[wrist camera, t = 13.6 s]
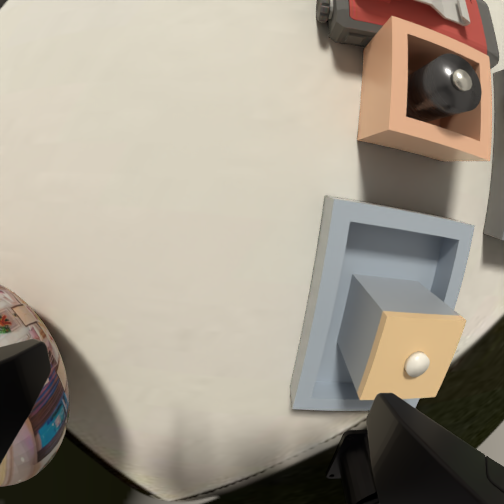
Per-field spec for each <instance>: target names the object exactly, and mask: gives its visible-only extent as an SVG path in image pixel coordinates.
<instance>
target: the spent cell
mask: <svg viewBox="0 0 504 504" xmlns="http://www.w3.org/2000/svg"><path fill="white" fill-rule="evenodd" d="M481 95H482V91H481V84H480V81H479V78H478V76H477V74H476V72H475V70H474V69H473V67H472V66H471V65H470V64H469V63H468V62H467V61H466V60H465V59H463V58H462V57H460V56H458V55H455V54H451V53H447V54H443V55H441V56H439V57H437V58H436V59H434V60H433V61H431V62H429V63H428V64H426V65H424V66H423V67H421V68H420V69H418V70H416V71H415V72H413V73H412V74H410V75H409V76H408V84H407V108H406V117H409V118H412V119H416V120H419V121H423V122H429V121H433V120H436V119H440V118H444V117H448V116H451V115H455V114H459V113H463V112H467V111H471V110H473V109H475V108H476V107H477V106H478V104H479V103H480V100H481Z"/></svg>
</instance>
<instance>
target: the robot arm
mask: <svg viewBox="0 0 504 504" xmlns="http://www.w3.org/2000/svg"><path fill="white" fill-rule="evenodd" d="M50 372H51V364H50V359H49V354H48V350H47V346H46V344H45V343H44V342H43V341H40V340H37V339H29V340H26V341H22V342H18V343H14V344H10V345H6V346H2V347H0V464H1V463H2V461H3V459H4V457H5V455H6V454H7V452H8V450H9V448H10V447H11V445H12V443H13V441H14V440H15V438H16V436H17V435H18V433H19V431H20V430H21V428H22V426H23V425H24V423H25V421H26V420H27V418H28V416H29V415H30V413H31V411H32V409H33V407H34V405H35V403H36V401H37V399H38V397H39V395H40V393H41V391H42V389H43V387H44V385H45V383H46V381H47V379H48V377H49V375H50ZM326 477H327V478H329V479H336V478H341V480H342V485H343V490H344V495H345V500H346V504H504V467H503V466H502V465H500V464H498V463H497V462H495V461H494V460H492V459H490V458H489V457H488V456H486V457H485V455H484V454H483V453H481V452H480V451H478V450H477V449H475V448H474V447H472V446H470V445H469V444H467V443H466V442H464V441H463V440H461V439H460V438H458V437H457V436H455V435H454V434H452V433H451V432H449V431H448V430H446V429H445V428H443V427H442V426H440V425H439V424H437V423H436V422H434V421H433V420H431V419H430V418H429V417H427V416H426V415H424V414H423V413H421V412H420V411H418V410H417V409H415V408H414V407H412V406H411V405H410V404H408V403H407V402H405V401H404V400H402V399H401V398H399V397H398V396H397V395H395V394H394V393H379V394H377V395H376V397H375V399H374V402H373V404H372V407H371V409H370V411H369V414H368V416H367V430H350V431H347V432H345V433H344V435H343V437H342V439H341V442H340V444H339V446H338V448H337V451H336V453H335V455H334V457H333V459H332V462H331V464H330V466H329V468H328V470H327V472H326Z"/></svg>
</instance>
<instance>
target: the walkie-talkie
mask: <svg viewBox="0 0 504 504" xmlns="http://www.w3.org/2000/svg"><path fill="white" fill-rule="evenodd" d="M391 16H394V17H397V18H400V19H403V20H406V21H409V22H412V23H415V24H418V25H420V26H423V27H426V28H428V29H431V30H433V31H436V32H438V33H441V34H443V35H446V36H448V37H450V38H452V39H455V40H457V41H459V42H461V43H463V44H466V45H468V46H470V47H472V48H474V49H476V50H478V51H480V52H482V53H484V54H486V55H488V56H489V61H490V69H491V68H493V67H494V66H495V65H496V64H498V61H499V52H498V46H497V41H496V36H495V32H494V28H493V23H492V19H491V15H490V12H489V8H488V5H487V4H486V3H485V2H484V1H483V0H317V4H316V17H317V20H318V21H319V22H322V23H325V22H326V21H328V28H329V38H331V39H332V40H333V41H335V42H337V43H344V44H351V45H357V46H363V47H366V46H367V45H368V43H369V42H370V41H371V40H372V38H373V37H374V36H375V35H376V34H377V33H378V31H379V30H380V29H381V28H382V27H383V25H384V24H385V23H386V22H387V21H388V19H389V18H390V17H391Z"/></svg>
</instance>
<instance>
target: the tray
mask: <svg viewBox="0 0 504 504" xmlns="http://www.w3.org/2000/svg"><path fill="white" fill-rule="evenodd" d="M473 231H474V225H471V224H468V223H464V222H461V221H458V220H454V219H450V218H445V217H441V216H436V215H431V214H426V213H422V212H417V211H412V210H406V209H401V208H396V207H391V206H385V205H380V204H374V203H368V202H362V201H356V200H350V199H344V198H338V197H331V196H325V198H324V205H323V212H322V219H321V226H320V232H319V239H318V245H317V251H316V257H315V263H314V269H313V275H312V280H311V286H310V292H309V297H308V302H307V308H306V313H305V318H304V323H303V328H302V333H301V338H300V343H299V348H298V352H297V357H296V362H295V366H294V371H293V375H292V380H291V384H290V390H291V400H292V409H302V410H330V411H368V410H370V409H371V407H372V404H373V402H374V400H360V399H359V397H358V394H357V392H356V389H355V386H354V384H353V381H352V378H351V376H350V373H349V371H348V368H347V366H346V363H345V360H344V358H343V355H342V353H341V350H340V348H339V345H338V343H337V338H338V334H339V330H340V326H341V322H342V318H343V314H344V309H345V305H346V301H347V296H348V292H349V287H350V282H351V277H352V274H359V275H368V276H377V277H386V278H395V279H404V280H413V281H418V282H419V283H420V284H422V285H423V286H424V287H425V288H427V289H428V290H429V291H431V292H432V293H433V294H434V295H436V296H437V297H438V298H439V299H441V300H442V301H443V302H444V303H446V304H447V305H448V306H449V307H451V308H452V309H453V310H454V308H455V305H456V301H457V298H458V294H459V291H460V287H461V284H462V280H463V276H464V272H465V268H466V264H467V260H468V255H469V251H470V246H471V241H472V236H473ZM419 399H420V398H413V399H402V400H404V401H405V402H407V403H408V404H410V405H411V406H412V407H414V408H415V407H416V405H417V403H418V401H419Z"/></svg>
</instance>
